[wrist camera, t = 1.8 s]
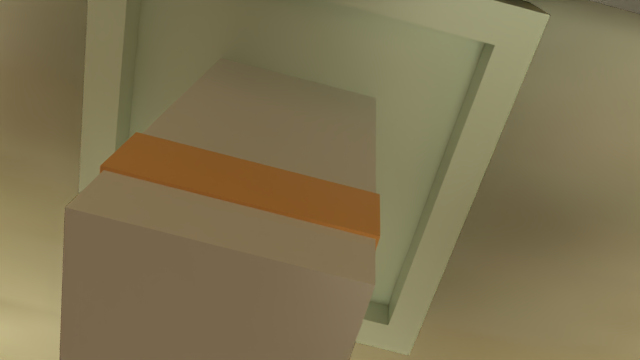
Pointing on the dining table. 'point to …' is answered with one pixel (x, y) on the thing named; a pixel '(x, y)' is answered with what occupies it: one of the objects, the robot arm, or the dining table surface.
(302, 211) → the plug
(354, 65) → the tray
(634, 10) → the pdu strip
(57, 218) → the dining table surface
